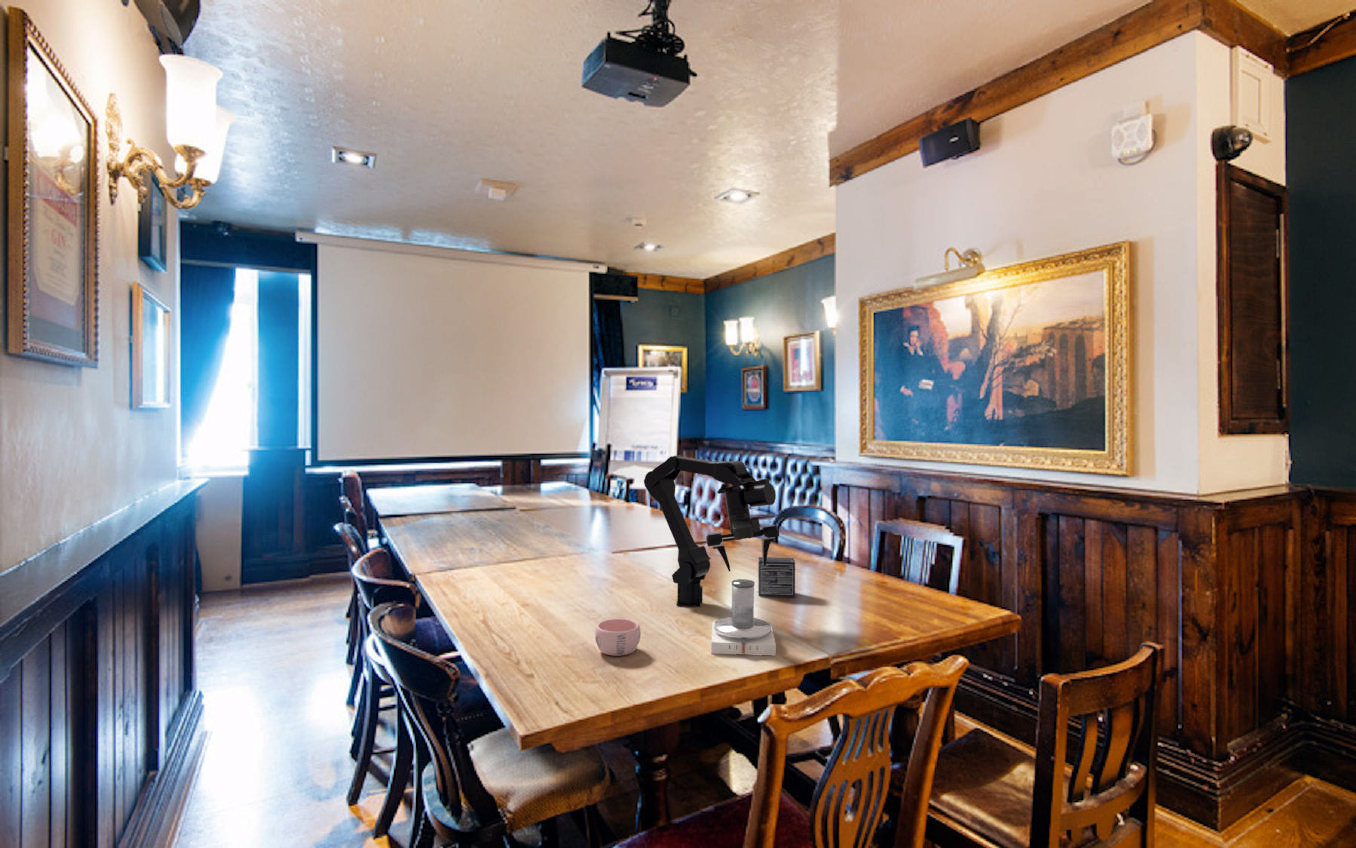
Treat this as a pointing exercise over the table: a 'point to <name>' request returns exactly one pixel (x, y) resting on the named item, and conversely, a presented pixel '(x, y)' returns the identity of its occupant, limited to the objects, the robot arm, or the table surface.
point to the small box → (776, 577)
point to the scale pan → (742, 630)
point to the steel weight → (743, 603)
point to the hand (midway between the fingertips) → (747, 568)
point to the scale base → (734, 645)
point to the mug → (617, 636)
